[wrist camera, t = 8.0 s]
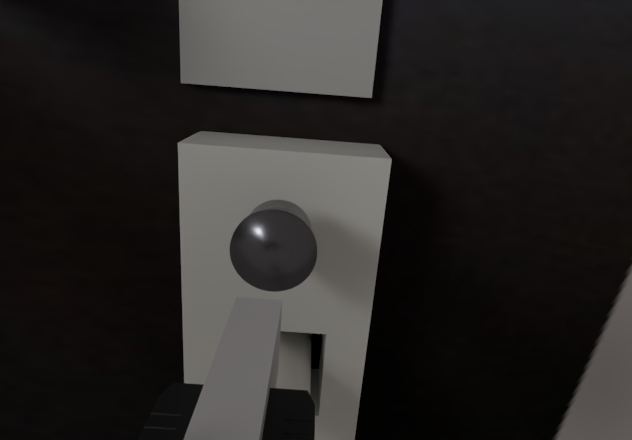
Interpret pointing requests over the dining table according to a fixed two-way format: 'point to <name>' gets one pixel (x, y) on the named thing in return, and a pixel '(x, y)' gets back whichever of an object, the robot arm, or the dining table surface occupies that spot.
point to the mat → (281, 44)
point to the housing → (332, 251)
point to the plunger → (274, 246)
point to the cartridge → (294, 361)
